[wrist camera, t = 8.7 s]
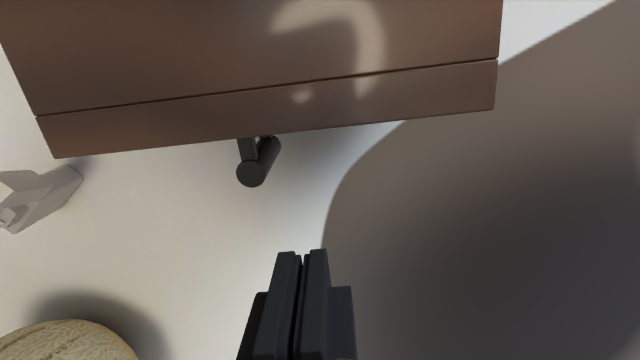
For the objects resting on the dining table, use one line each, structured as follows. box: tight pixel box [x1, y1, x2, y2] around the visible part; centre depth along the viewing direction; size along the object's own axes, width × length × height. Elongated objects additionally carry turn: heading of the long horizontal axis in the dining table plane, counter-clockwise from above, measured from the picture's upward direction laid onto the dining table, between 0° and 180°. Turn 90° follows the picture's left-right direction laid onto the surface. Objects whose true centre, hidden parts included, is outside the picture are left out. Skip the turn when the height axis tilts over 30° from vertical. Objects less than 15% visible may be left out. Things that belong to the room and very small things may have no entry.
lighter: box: [0, 165, 84, 234], centre depth 22 cm, size 7×2×8 cm, turn 135°
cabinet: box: [0, 0, 503, 159], centre depth 16 cm, size 10×18×11 cm, turn 97°
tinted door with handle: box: [236, 135, 281, 187], centre depth 18 cm, size 4×8×9 cm, turn 97°
